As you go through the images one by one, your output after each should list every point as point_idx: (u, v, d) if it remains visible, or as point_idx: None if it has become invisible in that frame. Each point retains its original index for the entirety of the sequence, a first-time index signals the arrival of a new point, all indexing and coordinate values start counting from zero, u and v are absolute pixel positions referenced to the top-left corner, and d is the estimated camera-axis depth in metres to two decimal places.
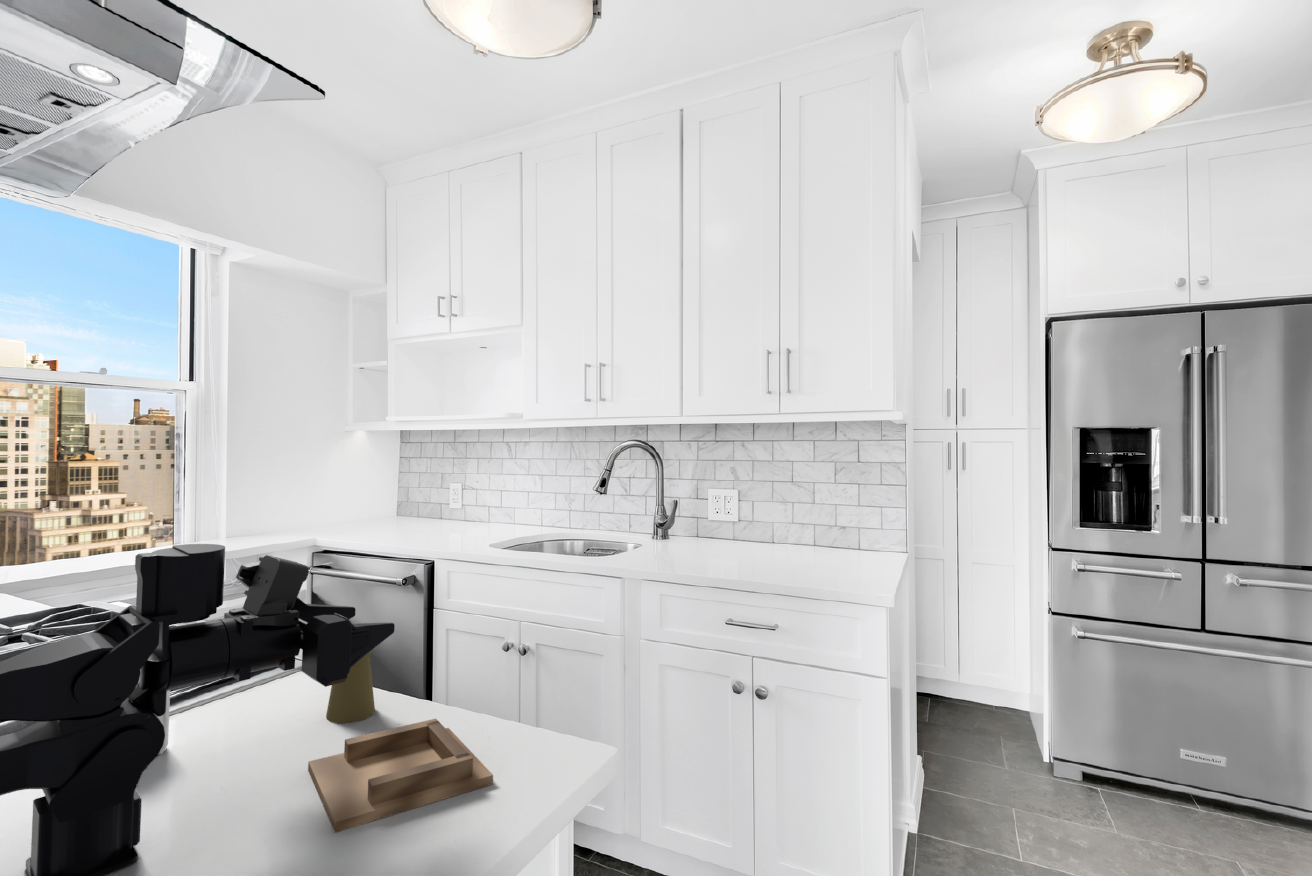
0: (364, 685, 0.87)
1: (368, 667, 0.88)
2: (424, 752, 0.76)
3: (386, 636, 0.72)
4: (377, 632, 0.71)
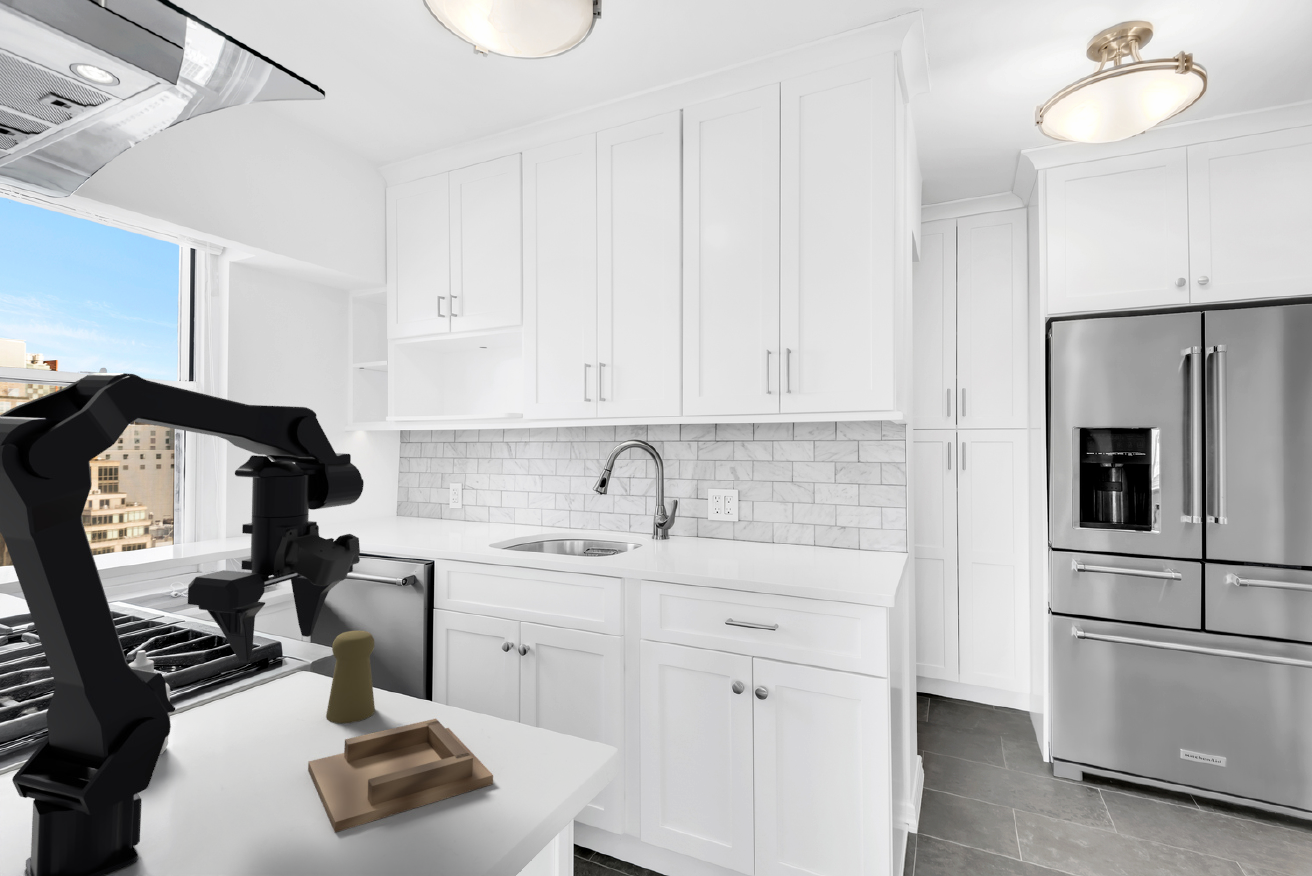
0: (364, 685, 0.87)
1: (368, 667, 0.88)
2: (424, 752, 0.76)
3: (236, 652, 0.71)
4: (239, 643, 0.70)
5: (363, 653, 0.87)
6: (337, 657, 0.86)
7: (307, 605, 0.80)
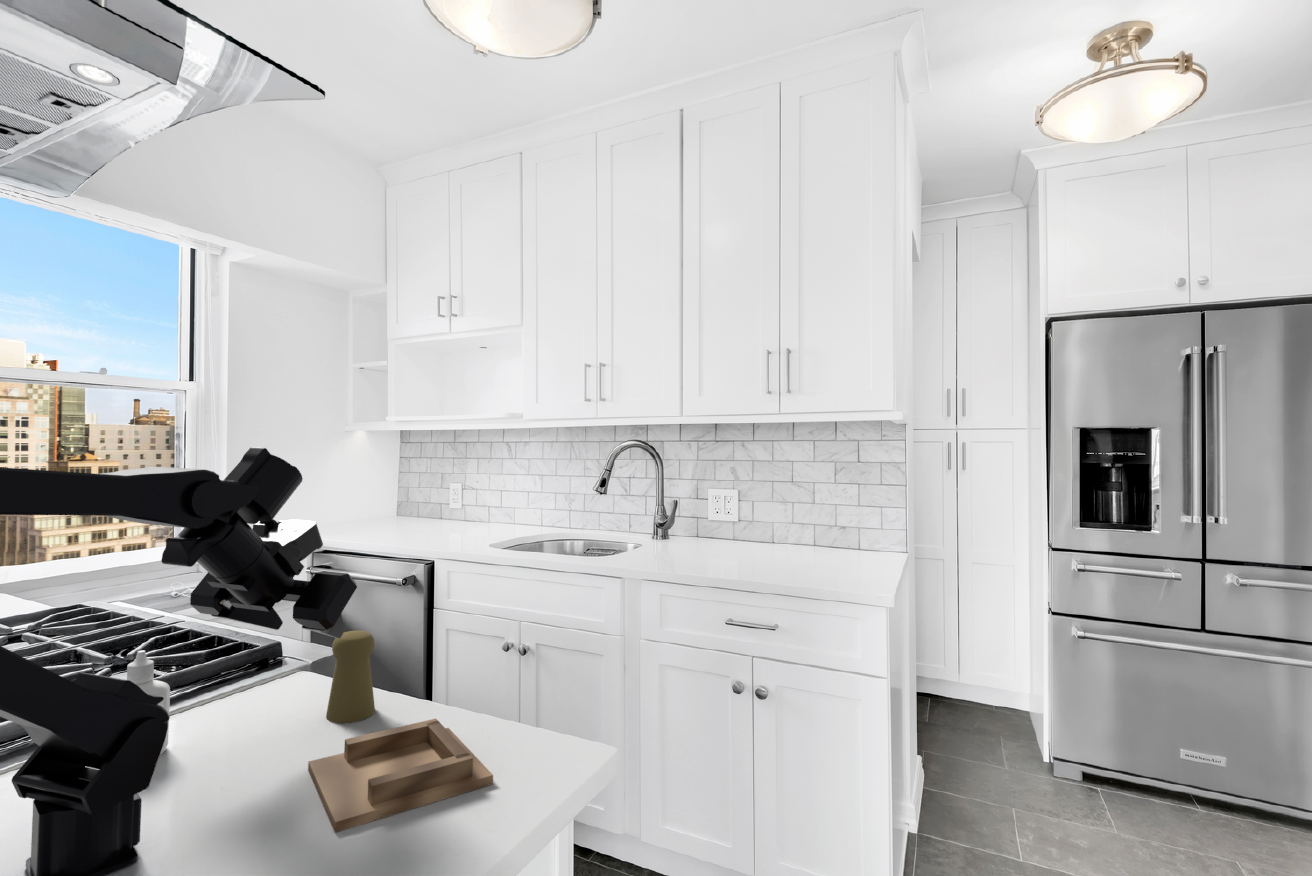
0: (364, 685, 0.87)
1: (368, 667, 0.88)
2: (424, 752, 0.76)
3: (337, 635, 0.78)
4: (338, 624, 0.78)
5: (363, 653, 0.87)
6: (337, 657, 0.86)
7: (261, 610, 0.79)
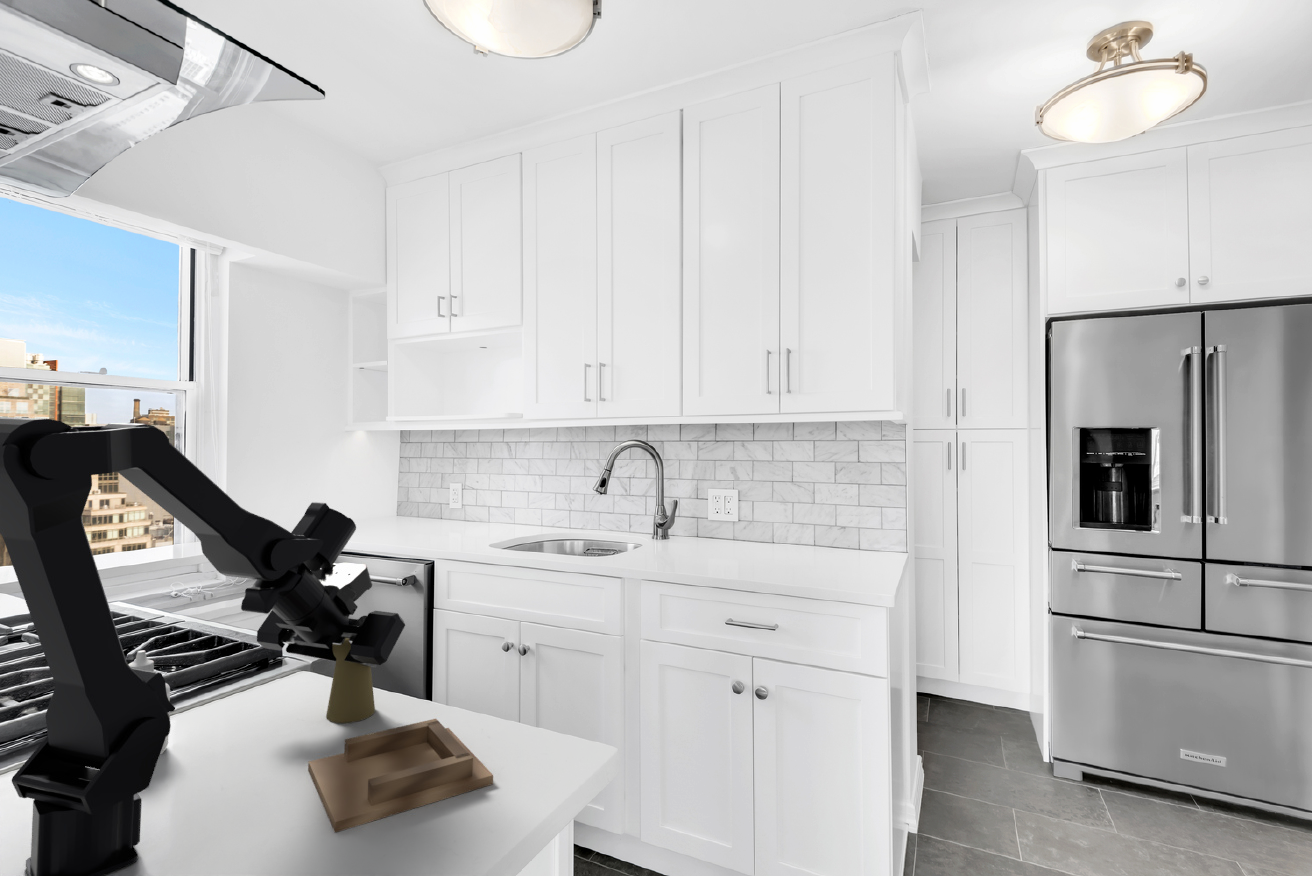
0: (364, 684, 0.87)
1: (368, 667, 0.88)
2: (424, 752, 0.76)
3: (373, 665, 0.88)
4: None
5: None
6: (337, 657, 0.86)
7: None
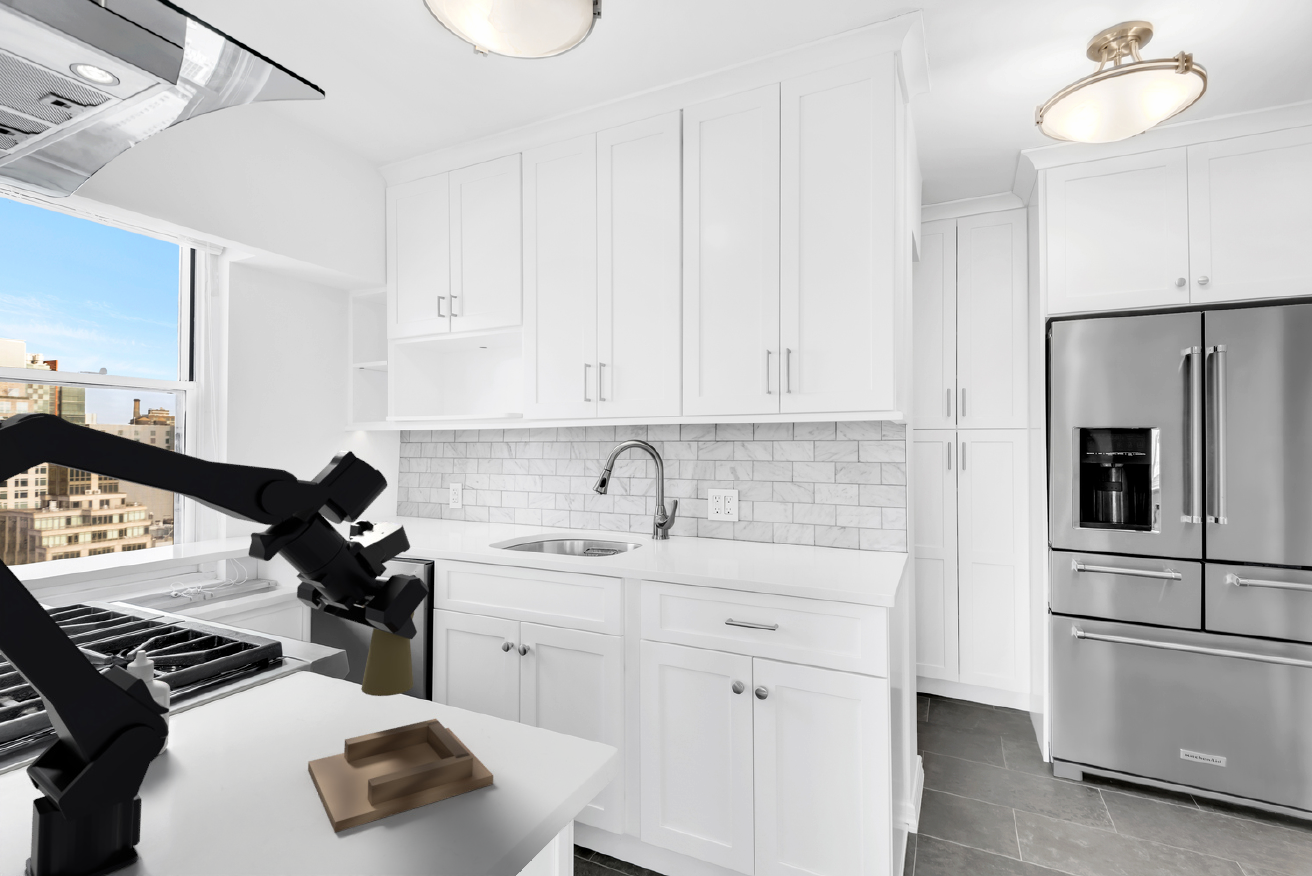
0: (398, 656, 0.80)
1: (404, 638, 0.81)
2: (424, 752, 0.76)
3: (407, 636, 0.80)
4: (408, 625, 0.79)
5: None
6: None
7: None
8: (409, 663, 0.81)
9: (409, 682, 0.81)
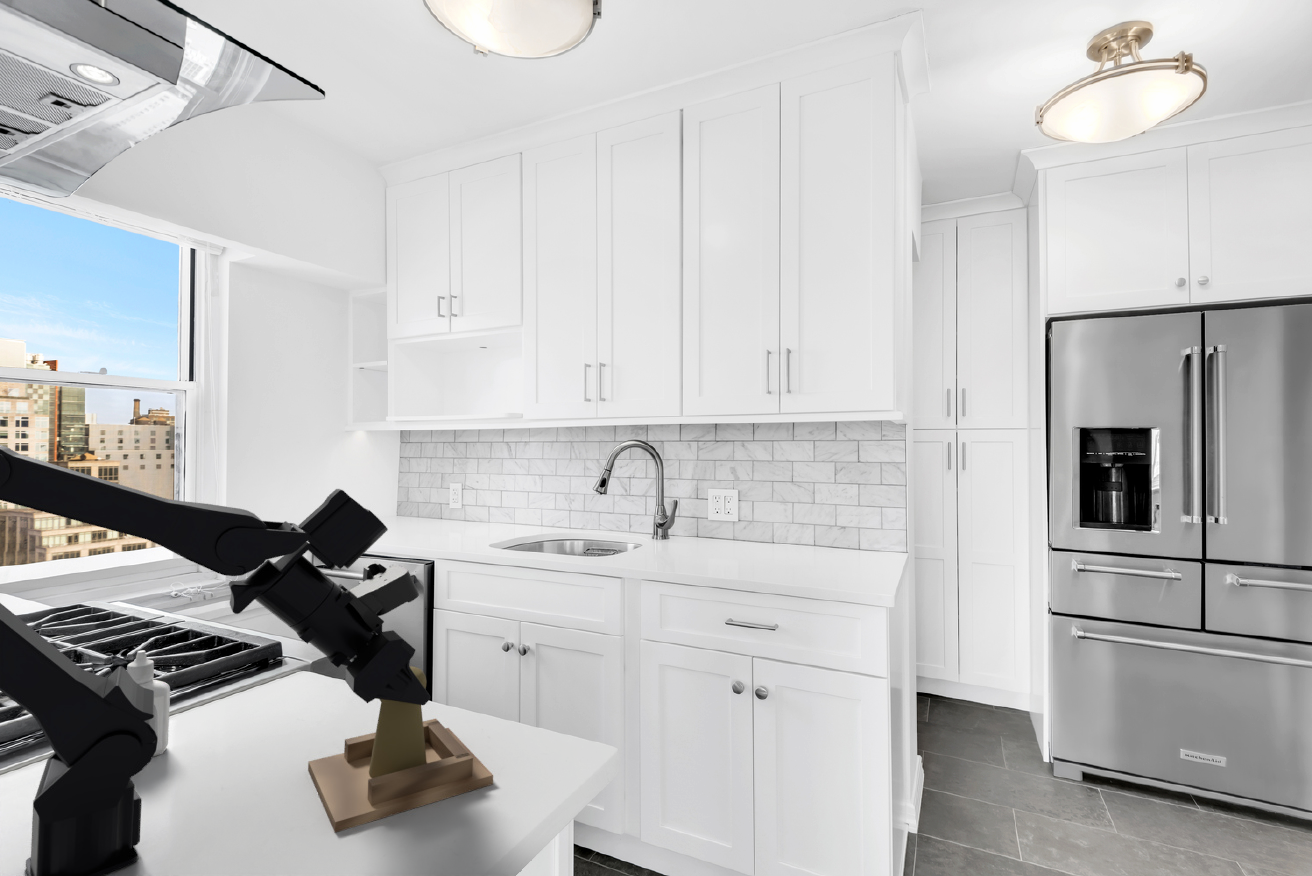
0: (401, 738, 0.70)
1: (410, 716, 0.71)
2: None
3: (417, 702, 0.69)
4: (415, 690, 0.69)
5: None
6: None
7: None
8: (417, 745, 0.72)
9: None
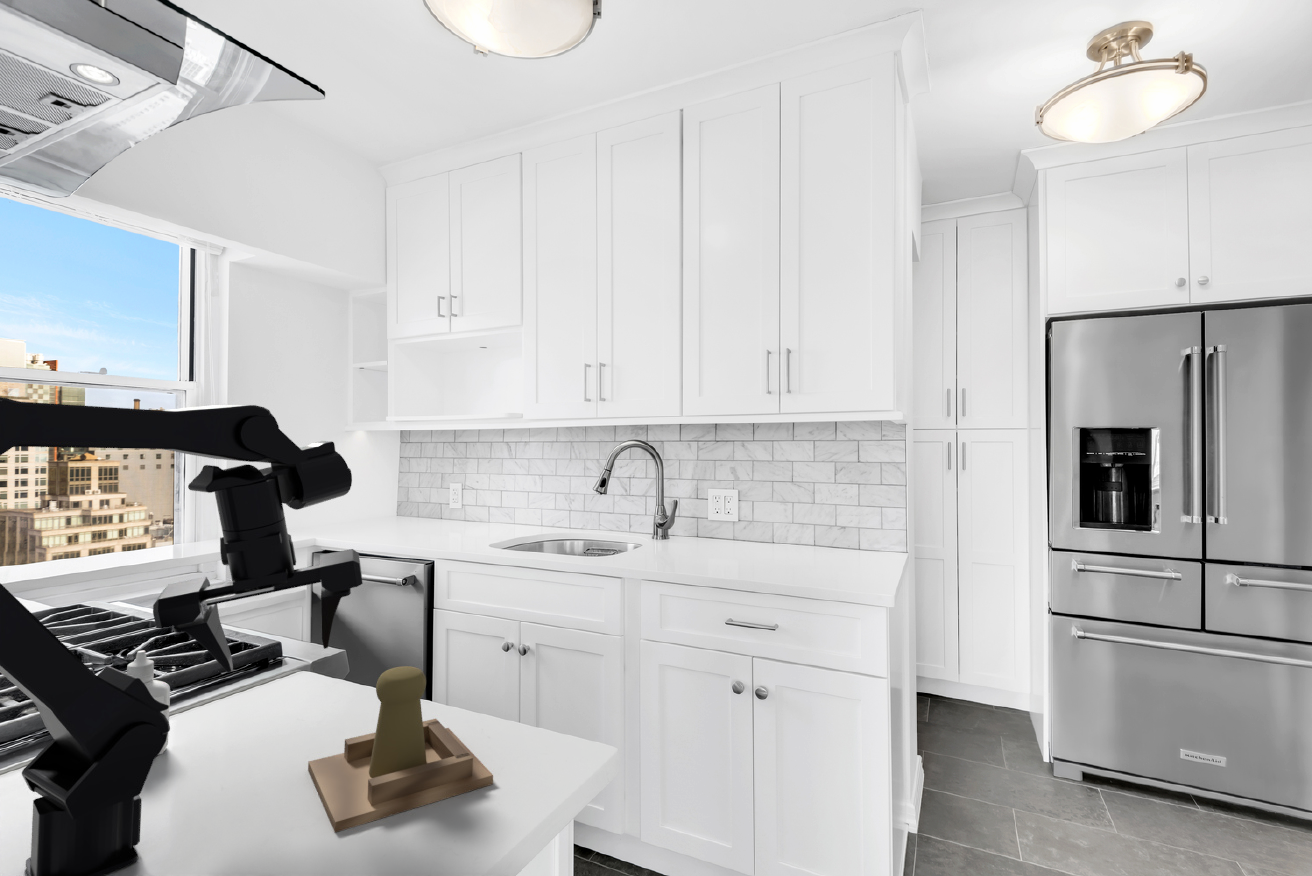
0: (401, 738, 0.70)
1: (410, 717, 0.71)
2: None
3: None
4: None
5: (399, 699, 0.70)
6: (378, 696, 0.72)
7: (222, 638, 0.69)
8: (417, 745, 0.72)
9: None
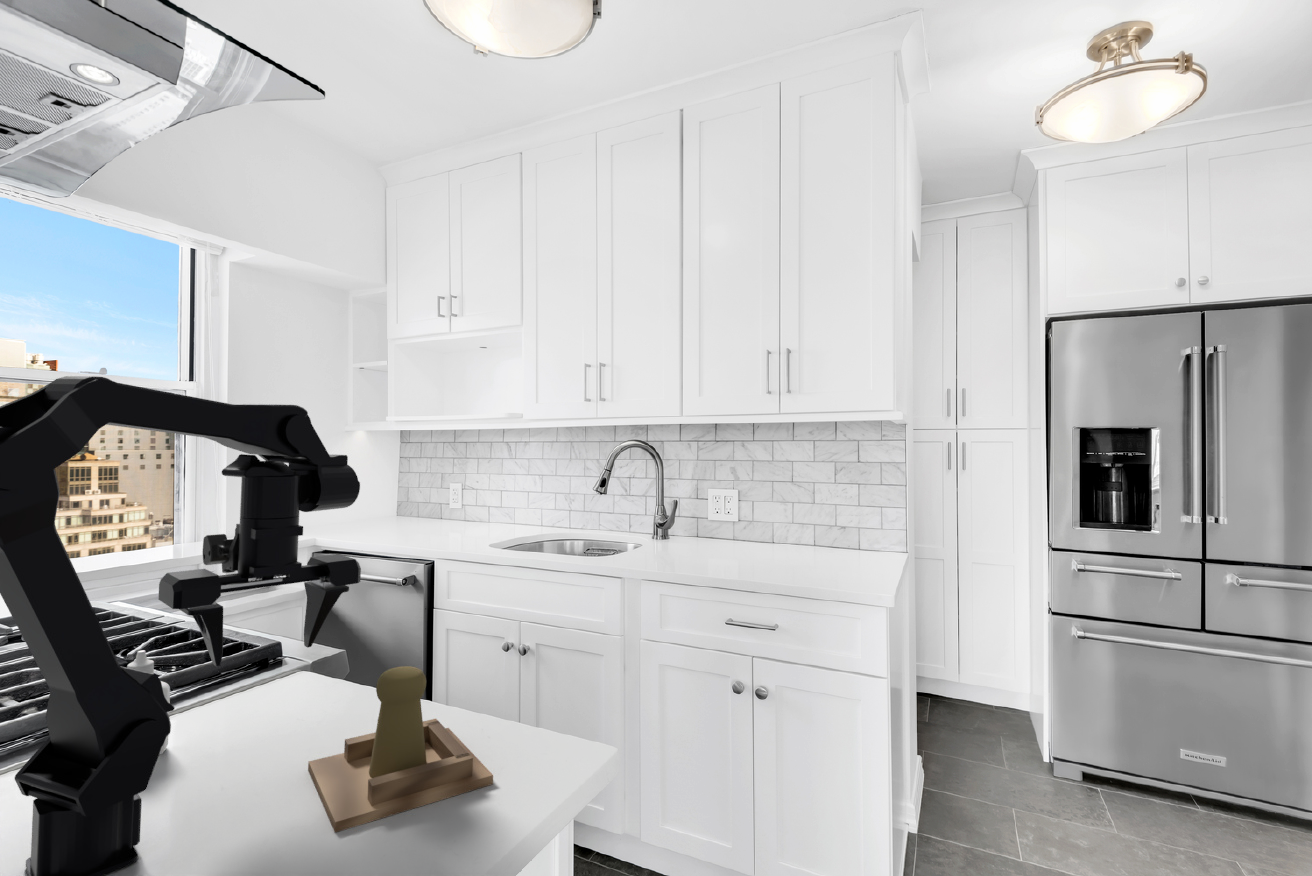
0: (401, 738, 0.70)
1: (410, 717, 0.71)
2: None
3: (314, 637, 0.76)
4: None
5: (399, 699, 0.70)
6: (378, 696, 0.72)
7: None
8: (417, 745, 0.72)
9: None
